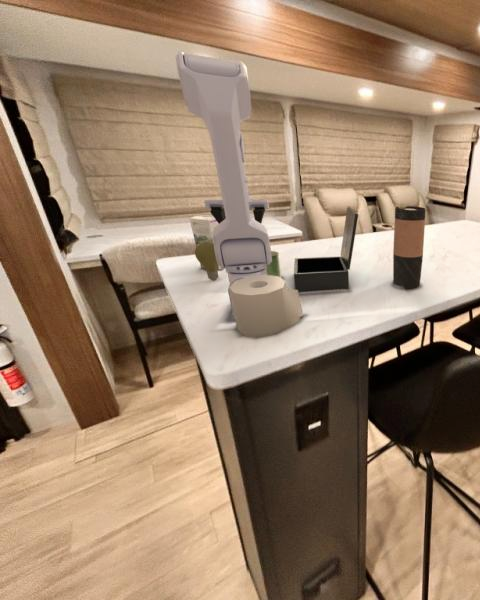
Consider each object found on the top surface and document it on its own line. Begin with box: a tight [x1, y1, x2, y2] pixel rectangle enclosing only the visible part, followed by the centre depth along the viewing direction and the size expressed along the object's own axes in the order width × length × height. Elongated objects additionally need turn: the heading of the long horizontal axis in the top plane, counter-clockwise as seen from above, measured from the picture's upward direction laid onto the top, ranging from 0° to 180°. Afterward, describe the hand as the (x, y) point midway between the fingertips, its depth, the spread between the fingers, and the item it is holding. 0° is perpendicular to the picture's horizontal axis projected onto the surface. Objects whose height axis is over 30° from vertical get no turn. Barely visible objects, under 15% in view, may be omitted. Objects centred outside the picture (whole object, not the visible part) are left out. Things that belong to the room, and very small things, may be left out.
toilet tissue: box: [228, 275, 304, 338], centre depth 60 cm, size 9×13×9 cm
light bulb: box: [194, 242, 220, 281], centre depth 79 cm, size 6×6×10 cm
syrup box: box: [189, 214, 223, 270], centre depth 88 cm, size 6×6×14 cm
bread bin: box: [293, 256, 350, 293], centre depth 80 cm, size 13×14×5 cm
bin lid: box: [340, 205, 359, 271], centre depth 78 cm, size 13×14×1 cm
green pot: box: [266, 250, 282, 278], centre depth 82 cm, size 6×6×7 cm
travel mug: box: [392, 205, 426, 290], centre depth 79 cm, size 8×8×20 cm
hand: (243, 236), depth 82 cm, fingers open, 7 cm apart
